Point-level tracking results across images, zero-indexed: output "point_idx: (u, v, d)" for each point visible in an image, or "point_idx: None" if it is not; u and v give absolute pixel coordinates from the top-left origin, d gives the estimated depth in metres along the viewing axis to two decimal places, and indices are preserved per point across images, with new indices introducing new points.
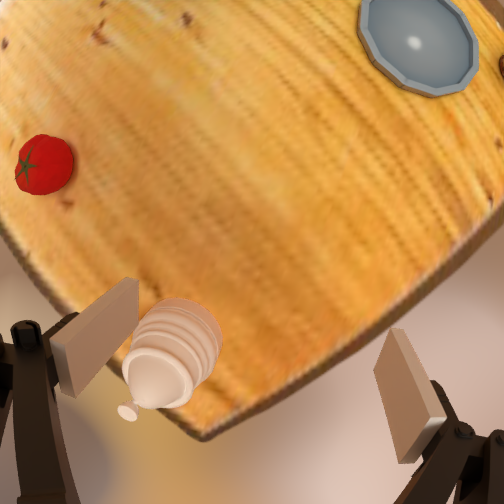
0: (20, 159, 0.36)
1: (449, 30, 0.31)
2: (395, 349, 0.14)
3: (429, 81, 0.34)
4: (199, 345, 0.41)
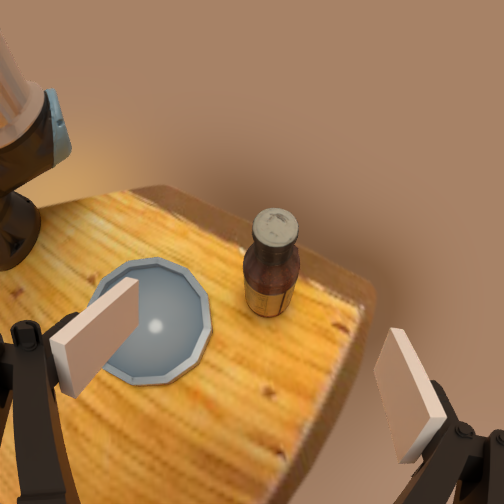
0: None
1: (176, 298, 0.44)
2: (395, 349, 0.14)
3: (161, 368, 0.40)
4: None
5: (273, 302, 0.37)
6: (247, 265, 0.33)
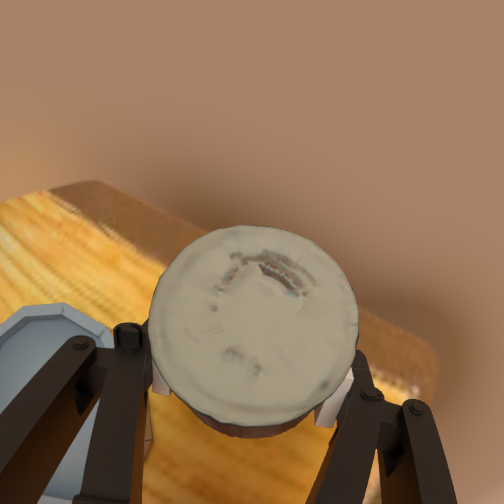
0: None
1: None
2: None
3: (74, 486, 0.18)
4: None
5: None
6: None
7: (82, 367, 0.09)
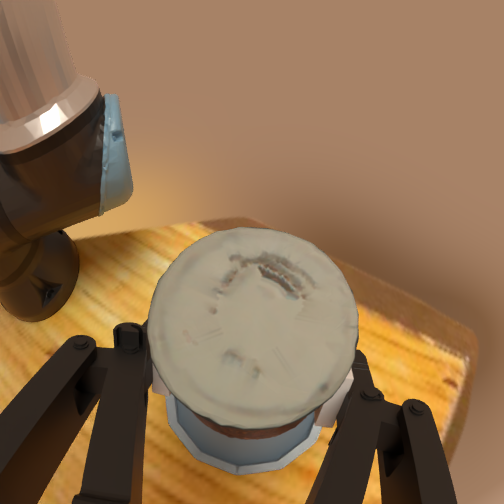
0: None
1: None
2: None
3: (270, 451, 0.31)
4: None
5: None
6: None
7: (82, 367, 0.09)
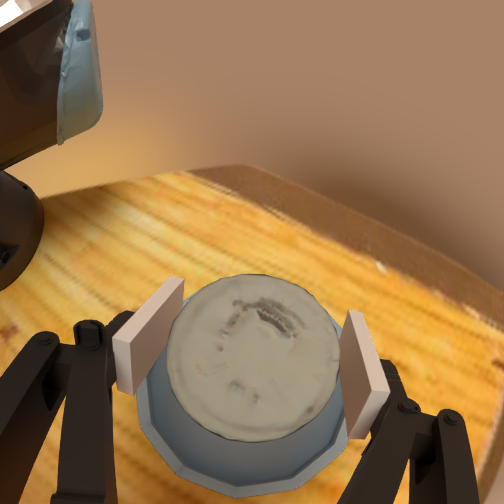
0: None
1: None
2: (350, 329, 0.15)
3: (281, 465, 0.22)
4: None
5: None
6: None
7: (48, 362, 0.09)
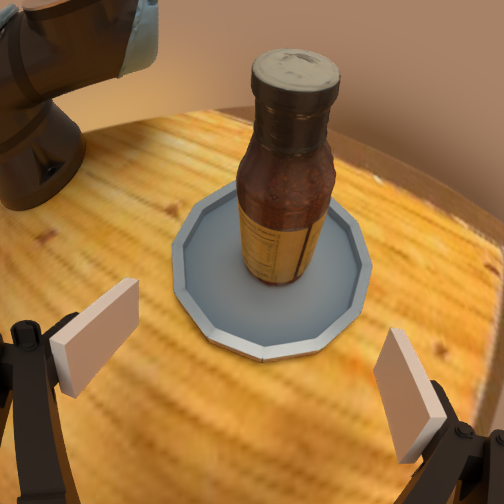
0: None
1: None
2: (395, 349, 0.14)
3: (304, 330, 0.27)
4: None
5: (288, 249, 0.22)
6: (243, 168, 0.17)
7: None
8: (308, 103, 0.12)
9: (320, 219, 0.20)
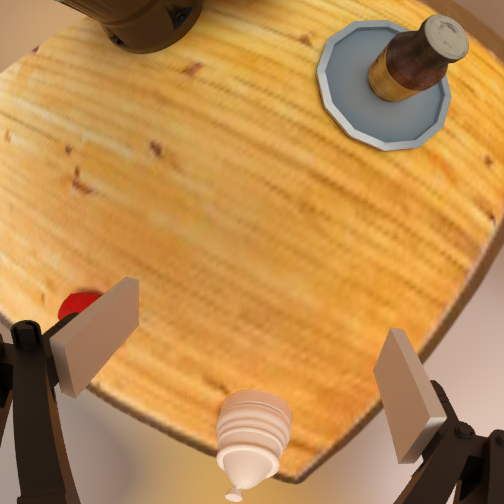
0: None
1: None
2: (395, 349, 0.14)
3: (407, 132, 0.37)
4: (273, 427, 0.45)
5: (410, 94, 0.29)
6: (399, 61, 0.23)
7: None
8: (452, 61, 0.18)
9: None
